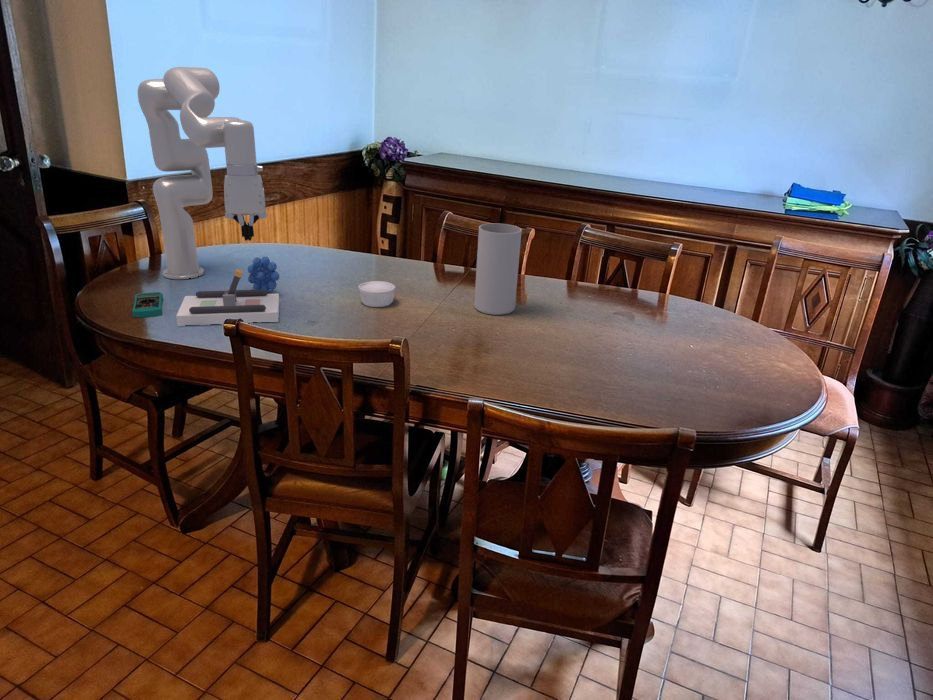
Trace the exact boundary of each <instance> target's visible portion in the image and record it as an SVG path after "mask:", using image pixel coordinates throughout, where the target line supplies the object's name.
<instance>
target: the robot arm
mask: <svg viewBox="0 0 933 700" xmlns="http://www.w3.org/2000/svg"><path fill="white" fill-rule="evenodd" d="M219 94H220V82H219V79H218V77H217V76H216V73H214V71H212V70H211V69H209V68H207V67H195V66H194V67H190V66H177V67H176V66H175V67H172V68H169V69H167V70H166V72H165V73H164V75H163V78H151V79H146V80H143V81H141V82H140V83H139V85H138V87H137V100H138V103H139V107H140V110H141V112H142V114H143V116H144V118H145V121H146V124H147V126H148V134H149V140H150V147H151V152H152V158H153V161H154V165H155V166H156V168H157V169H158V170H159V171H161V172H166V173H167V172H168V173H169V172H184V171H186V172H187V171H189V172H191V174H185V175H182V174H180V175H169V176H163V177H159V178H158V179H156V180H154V182H153V185H152V193H153V196H154V200H155V203H156V205H157V206H156V207H157V209H158V213H159V219H160V220H159V221H160V225H161V231H162V239H163V241H162V242H163V247H164V255H165V261H166V268H165V269H164V270H163V271H162V276H163V277H165V278H166V279H171V280H189V278H191V279H195V278H199V277H201V276H203V275H204V274H205V269H204V268H203V267H202V266H199V259H198V251H197V250H198V249H197V242H196V234H195V226H194V225H195V224H194V220H193V218H192V216H191V215H190V214H189V213H188V212H187V211H186V210H185V209H184V208H185V207H190V206H200V205H207V204H210V202H211V201H212V199H213V196H214V195H213V193H214V191H213V183H212V176H211V175H212V174H211V167H210V159H209V153H208V151H207V150H208V149H213V148H214V149H215V148H224V153H225V166H226V174H225V175H224V181H223V197H224V210H225V213H224V218H227V219H230V220H234V221H235V222H237V223H238V225H239V226H240V230H241V231H240V232H241V237H242V238H244V241H245V242H246V241H252V239H253V237H254V236H255V233H254V232H255V231H254V224H255V223H256V222H257V221H258V220H261V219H267V217H268V214H267V211H266V205H267V204H266V196H265V189H264V184H263V180H262V179H263V178H262V176H261V174H258V173H260V172H263V171H264V168H263V166H262V165H258V162H257V152H256V142H255V141H256V140H255V139H256V138H255V129H254V125H253V123H252V122H251V121H248V120H242V119H241V118H239V117H235V116H234V117H233V116H213V117H211V116H210V115H211V114H212V113H213V111H214V110H215V106H216V103H215V100H216V99H217V98H218V96H219ZM170 111H180V112H179V119H180V121H179V122H180V125H181V127H182V130H183V132H184V134H185V135H186V137H187V138H181V133H180V126H179V123H178V121H177V119H176V118H175V117H174V115H173V114H172V113H171V112H170ZM244 215H249V216H248V222H246V219H245V216H244ZM198 276H199V277H198Z"/></svg>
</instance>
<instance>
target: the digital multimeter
mask: <svg viewBox="0 0 933 700" xmlns="http://www.w3.org/2000/svg"><path fill="white" fill-rule="evenodd" d="M163 295H164V294H163V293H162V292H160V291H156V292H155V291H154V292H153V291H152V292H141V293H136V294H135V295H134V303H133V308H132V311H131V313H132V317H133V318H150V317H151V316H152V317H157V316H158V315H160V316H162V315H163V301H164V296H163ZM152 317H151V318H152Z"/></svg>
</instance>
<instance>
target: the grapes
mask: <svg viewBox="0 0 933 700" xmlns="http://www.w3.org/2000/svg"><path fill="white" fill-rule="evenodd" d="M270 259H271V258H270V257H268V256H262V257H261V258H260V257H254V259H253V260H252V264H250V265H248V267H247V271H248V273H249V275H248V276H247V281H248V282H249V283H250V284H252V290H267V292H268V293H269V292H270V290H272V291H273V290H275V289H276V288H277V285H278V284H277V281H279V278H280V273H279V272H278V271H277V267H278V266H277V263H276V262H274V261H271V260H270Z"/></svg>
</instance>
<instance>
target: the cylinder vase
mask: <svg viewBox="0 0 933 700" xmlns="http://www.w3.org/2000/svg"><path fill="white" fill-rule="evenodd" d="M522 231H523V229H522V228H521V227H520V226H517V225H512V224H509V223H508V224H507V223H496V222H495V223H491V222H490V223H484V224H481V225H479V226H478V237H477V254H476V257H477V258H476V271H475V273H476V274H475V288H474V304H473V306H474V308H475V309H476V310H477V311H478V312H480V313H483V314H487V315H493V316H501V315H502V316H503V315H508V314H510V313H512V312H514V311H515V310H516V309H515V308H516V299H517V289H518V288H517V287H518V276H519V267H520V266H519V264H520V253H521V252H520V251H521V242H522Z"/></svg>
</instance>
